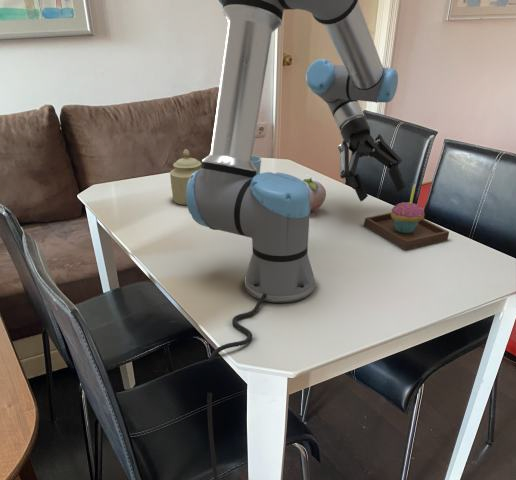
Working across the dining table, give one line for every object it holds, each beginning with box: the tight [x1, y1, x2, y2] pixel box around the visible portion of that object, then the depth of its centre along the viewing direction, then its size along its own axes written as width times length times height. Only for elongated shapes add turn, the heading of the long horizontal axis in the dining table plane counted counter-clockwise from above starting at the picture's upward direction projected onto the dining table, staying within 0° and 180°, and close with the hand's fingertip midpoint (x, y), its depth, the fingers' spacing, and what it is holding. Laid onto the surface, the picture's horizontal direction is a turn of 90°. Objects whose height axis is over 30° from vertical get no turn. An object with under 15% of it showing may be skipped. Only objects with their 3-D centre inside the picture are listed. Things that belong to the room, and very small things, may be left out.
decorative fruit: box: [302, 177, 327, 213], centre depth 144 cm, size 9×8×10 cm
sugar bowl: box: [169, 148, 202, 206], centre depth 153 cm, size 15×11×15 cm
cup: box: [251, 155, 262, 175], centre depth 158 cm, size 8×8×10 cm
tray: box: [363, 212, 450, 251], centre depth 133 cm, size 18×14×2 cm
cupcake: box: [390, 183, 425, 233], centre depth 130 cm, size 9×8×12 cm
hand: (383, 194), depth 136 cm, fingers open, 13 cm apart
